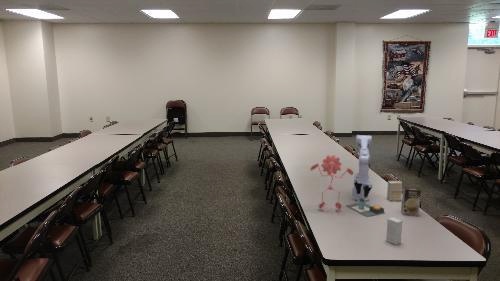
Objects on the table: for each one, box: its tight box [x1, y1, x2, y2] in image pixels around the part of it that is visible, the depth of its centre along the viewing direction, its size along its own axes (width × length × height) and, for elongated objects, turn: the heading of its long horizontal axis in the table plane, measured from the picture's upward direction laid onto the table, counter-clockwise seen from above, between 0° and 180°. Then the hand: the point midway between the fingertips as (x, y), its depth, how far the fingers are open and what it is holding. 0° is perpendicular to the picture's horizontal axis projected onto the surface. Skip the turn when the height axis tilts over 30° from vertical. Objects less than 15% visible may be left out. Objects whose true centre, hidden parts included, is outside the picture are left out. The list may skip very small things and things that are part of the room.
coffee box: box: [400, 186, 422, 217], centre depth 225 cm, size 9×6×16 cm
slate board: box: [345, 202, 386, 218], centre depth 232 cm, size 20×14×3 cm
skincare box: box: [385, 216, 403, 245], centre depth 188 cm, size 6×4×12 cm
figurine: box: [309, 154, 354, 214], centre depth 231 cm, size 15×26×35 cm, turn 84°
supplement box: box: [386, 180, 403, 202], centre depth 248 cm, size 8×5×13 cm, turn 92°
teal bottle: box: [358, 199, 366, 209], centre depth 232 cm, size 3×3×6 cm
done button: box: [373, 205, 382, 210], centre depth 227 cm, size 4×4×2 cm
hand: (362, 195), depth 231 cm, fingers open, 6 cm apart
